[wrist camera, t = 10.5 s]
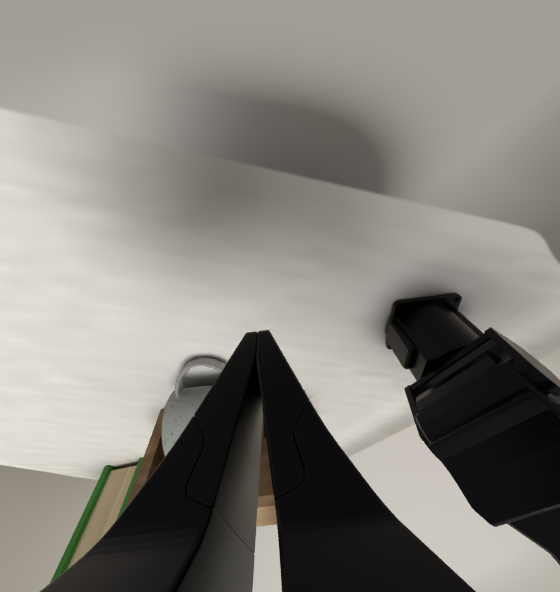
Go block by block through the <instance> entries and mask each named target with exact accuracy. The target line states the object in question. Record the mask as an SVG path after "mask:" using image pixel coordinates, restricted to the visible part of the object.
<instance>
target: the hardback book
mask: <svg viewBox="0 0 560 592" xmlns="http://www.w3.org/2000/svg"><path fill="white" fill-rule="evenodd" d="M143 458H144V457H143ZM143 458H140V459H139V461H138V464H137V465H136V466H131V467H127V468H122V469H117V468H115V467H113V466H111V465H107V466H105V468H104V470H103V472H102V474H101V476H100V478H99V480H98V483H97V485H96V487H95V489H94V491H93V493H92V495H91V498H90V500H89V502H88V504H87V506H86V508H85V510H84V512H83V515H82V516H81V519H80V521H79V523H78V525H77V527H76V529H75V531H74V534H73V536H72V538H71V540H70V542H69V544H68V546H67V548H66V550H65V553H64V555H63V557H62V559H61V561H60V563H59V565H58V567H57V569H56V572H55V574H54V576H53V578H52V580H51V582H52V581H54V580H55V579H56V578H57V577H59V576H60V575H61V574H62V573H63V572H65V571H66V570H67V569H68V568H70V567H71V566H72V565H73V564H75V563H76V562H77V561H78V560H79V559H80V558H82V557H83V556H84V555H85V554H86V553H87V552H88V551H89V550H90V549H91V548H92V547H93V546H94V545H95V544H96V543H97V542H98V541H99V540H100V539H101V538H102V537H103V536H104V534H105V533H106V532H107V531H108V530H109V529H110V527H111V526H112V525H113V524H114V523H115V521H116V520H117V519H118V518H119V516H120V515H121V514H122V512H123V511H124V510H125V507H126V504H127V501H128V499H129V496H130V493H131V490H132V488H133V485H134V482H135V479H136V477H137V474H138V471H139V469H140V466H141V463H142V460H143ZM51 582H50V583H51Z"/></svg>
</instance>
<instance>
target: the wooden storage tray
mask: <svg viewBox="0 0 560 592" xmlns="http://www.w3.org/2000/svg"><path fill="white" fill-rule="evenodd" d="M164 410H165V409H161V411H160V414H159V417H158V419H157V422H156V425H155V428H154V430H153V433H152V436H151V438H150V441H149V444H148V447H147V449H146V452H145V455H144V458H143V460H142V463H141V466H140V469H139V471H138V474H137V477H136V479H135V482H134V485H133V488H132V490H131V493H130V496H129V499H128V501H127V504H126V507H127V506H128V505H129V503H130V502H131V501H132V499H133V498H134V497H135V495H136V494H137V493H138V492H139V490H140V489H141V488H142V486H143V485H144V484H145V482H146V481H147V480H148V479H149V477H150V476H151V475H152V473H153V472H154V471H155V469H156V468H157V467H158V466H159V464H160V463H161V461H162V460H163V459H164V457H165V455H164V451H163V445H162V420H163V415H164ZM126 507H125V508H126ZM274 524H277V518H276V510H275V500H274V494H273V486H272V479H271V471H270V463H269V456H268V448H267V440H266V433H265V425H264V417H263V424H262V440H261V456H260V473H259V489H258V505H257V521H256V527H257V526H266V525H274Z"/></svg>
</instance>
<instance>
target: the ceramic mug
mask: <svg viewBox="0 0 560 592" xmlns="http://www.w3.org/2000/svg"><path fill="white" fill-rule="evenodd" d="M194 366H207V367H212V368H214V369H216V370H218V371H219V372H220V373H221V371H222V370H223V368H224V367H225V365H224V364H223V363H222V362H220V361H218V360H216V359H213V358H198V359H194V360H192V361H190V362H189V363H187V364H186V365H185V367H184V368H183V369H182V371H181V372H180V374H179V375H178V378H177V381H176V387H175V391H174V392H173V393H172V394H171V395H170V397H169V399H168V401H167V403H166V406H165V410H164V415H163V420H162V445H163V451H164V455H165V456H166V455H167V453H168V452H169V451H170V449H171V448H172V447H173V445H174V444H175V442H176V441H177V439H178V438H179V436H180V435H181V433H182V432H183V430H184V429H185V427H186V426H187V424H188V423H189V421H190V420H191V418H192V417H193V416H194V414H195V412H196V410H197V409H198V407H199V406H200V404H201V403H202V401H203V400H204V398H205V396H206V395H207V393H208V392H209V390H210V389H211V387H212V386H213V385H210V386H197V387H189V388H183V385H182V383H183V377H184V374H185V373H186V372H187V371H188V370H189V369H190V368H191V367H194Z"/></svg>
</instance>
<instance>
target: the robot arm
mask: <svg viewBox="0 0 560 592" xmlns="http://www.w3.org/2000/svg"><path fill="white" fill-rule="evenodd" d="M461 299H462V297H461V296H460V295H459V294H457V293H454V294H446V295H439V296H431V297H423V298H416V299H408V300H401V301H397V302H395V303H394V305H393V309H392V314H391V320H390V321H389V324H388V329H387V334H386V346H387V348H388V349H392V350H393V351H394V353H395V355H396V356H397V358H398V360H399V361H400V363H401V365H402V366H403V367H404V368H405V369H410V371H411V372H412V374H413V376H414V377H415V379H416V380H417V381H416V382H415V383H413V384H412V385H408V386H407V387H406V388H404V389H405V392H406V395H407V399H408V402H409V405H410V408H411V411H412V414H413V417H414V421H415V424H416V427H417V429H418V432H419V436H420V437H421V439H422V440H423V441H424V442H425V444H426V445H427V447H428V448H429V449H430V450H431V451H432V453H433V454H434V455H435V456H436V457H437V458H438V459H439V460H440V461H441V462H442V463H443V464H444V466H445V467H446V468H447V470H448V471H449V472H450V474H451V475H452V477H453V478H454V480H455V481H456V483H457V484H458V486H459V488H460V489H461V491H462V492H463V494H464V496H465V497H466V499H467V500H468V502H469V504H470V506H471V507H472V508H473V509H474V510H475V511H476V512H477V513H478V514H479V515H480V516H482V517H483V518H484V519H485V520H486V521H487V522H488V523H489V524H491V525H492V526H494V527H497V526H500V525H504V524H508V525H510V526H511V527H513V528H514V529H516V530H517V531H519V532H520V533H521V534H523V535H524V536H526V537H527V538H529V539H530V540H531V541H533V542H535V543H536V544H537V545H539V546H540V547H542V548H543V549H544V550H546V551H547V552H548V553H550V554H551V555H552V557H553V558H554V559H555V560H556V561H557V562H558V563H559V565H560V380H559V379H558V378H557V377H556V376H555V375H554V374H553V373H552V372H551V371H550V370H548V369H547V368H546V367H545V366H543V365H542V364H541V363H540V362H539V361H537V360H536V359H535V358H534V357H532V356H531V355H530V354H529V353H527V352H526V351H525V350H524V349H522V348H521V347H520V346H518V345H517V344H515V343H514V342H512V341H511V340H509V339H508V338H506V337H505V336H503V335H502V334H500V333H499V332H497V331H496V330H494V329H493V328H491V327H490V328H489V329H487V330H486V331H485V333H484V334H483V333H482V332H481V331H480V330H479V329H478V328H477V327H476V326H475V325H473V324H472V323H471V322H470V321H469V320H468V319H467V318H466V317H464V316H463V315H462V314H461V313H460V312H459V311H458V310H457V309H458V307H459V304H460V302H461ZM399 305H400V306H399ZM398 306H399V307H398ZM263 417H264V425H265V433H266V440H267V448H268V456H269V463H270V471H271V479H272V486H273V494H274V500H275V510H276V518H277V526H278V537H279V550H280V565H281V581H282V592H476V591H474V590H473V589H472V588H471V587H470V586H469V585H468V584H467V583H466V582H465V581H464V580H463V579H462V578H460V577H459V576H458V575H457V574H456V573H455V572H454V571H453V570H452V569H451V568H450V567H449V566H448V565H446V564H445V563H444V562H443V561H442V560H441V559H440V558H439V557H438V556H437V555H436V554H435V553H434V552H432V551H431V550H430V549H429V548H428V547H427V546H426V545H425V544H424V543H423V542H422V541H421V540H420V539H419V538H417V537H416V536H415V535H414V534H413V533H412V532H411V531H410V530H409V529H408V528H407V527H406V526H405V525H403V524H402V523H401V522H400V521H399V520H398V519H397V518H396V517H395V515H394V514H393V513H392V512H391V511H390V510H389V509H388V508H387V507H386V505H385V504H384V503H383V502H382V501H381V499H380V498H379V497H378V496H377V495H376V493H375V492H374V491H373V490H372V488H371V487H370V486H369V484H368V483H367V482H366V480H365V479H364V478H363V477H362V475H361V474H360V472H359V471H358V470H357V468H356V467H355V466H354V465H353V463H352V462H351V461H350V459H349V458H348V457H347V455H346V454H345V453H344V451H343V450H342V449H341V447H340V446H339V445H338V443H337V442H336V441H335V439H334V438H333V436H332V435H331V434H330V432H329V431H328V429H327V428H326V426H325V425H324V423H323V422H322V420H321V418H320V417H319V415H318V414H317V412H316V410H315V408H314V407H313V405H312V403H311V402H310V401H309V398H308V397H307V395H306V393H305V391H304V390H303V388H302V386H301V384H300V383H299V381H298V379H297V378H296V376H295V374H294V372H293V371H292V369H291V367H290V365H289V364H288V362H287V360H286V358H285V357H284V355H283V353H282V352H281V350H280V348H279V346H278V345H277V343H276V341H275V339H274V338H273V336H272V334H271V332H270V331H269V330H264V331H259V332H249V333H246V334H245V336H244V337H243V339H242V340H241V342H240V343H239V345H238V347H237V348H236V350H235V351H234V353H233V354H232V356H231V357H230V359H229V361H228V362H227V364H226V365H225V367H224V368H223V370H222V371H221V373H220V375H219V376H218V378H217V379H216V381H215V382H214V384H213V386H212V387H211V389H210V390H209V392H208V393H207V395H206V396H205V398H204V400H203V401H202V403H201V404H200V406H199V407H198V409H197V410H196V412H195V414H194V416H193V417H192V418H191V420H190V421H189V423H188V424H187V426H186V427H185V429H184V430H183V432H182V433H181V435H180V436H179V438H178V439H177V441H176V442H175V444H174V445H173V447H172V448H171V449H170V451H169V452H168V453H167V455H166V456H165V457H164V459H163V460H162V461H161V463H160V464H159V466H158V467H157V468H156V469H155V471H154V472H153V473H152V475H151V476H150V477H149V479H148V480H147V481H146V482H145V484H144V485H143V486H142V488H141V489H140V490H139V492H138V493H137V494H136V495H135V497H134V498H133V499H132V501H131V502H130V503H129V505H128V506H127V507H126V508H125V510H124V511H123V512H122V514H121V515H120V516H119V518H118V519H117V520H116V521H115V523H114V524H113V525H112V526H111V527H110V529H109V530H108V531H107V532H106V533H105V534H104V536H103V537H102V538H101V539H100V540H99V541H98V542H97V543H96V544H95V545H94V546H93V547H92V548H91V549H90V550H89V551H88V552H87V553H86V554H85V555H84V556H83V557H82V558H80V559H79V560H78V561H77V562H76V563H75V564H73V565H72V566H71V567H70V568H68V569H67V570H66V571H65V572H63V573H62V574H61V575H60V576H59V577H57V578H56V579H55V580H54V581H52V582H51V583H50V584H49V585H47V586H46V587H45V588H44V589H43V590H41V591H40V592H252V587H253V571H254V570H253V569H254V552H255V537H256V521H257V505H258V489H259V473H260V456H261V440H262V424H263Z"/></svg>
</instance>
